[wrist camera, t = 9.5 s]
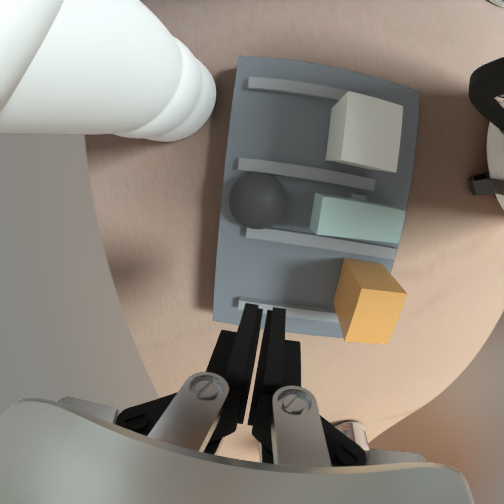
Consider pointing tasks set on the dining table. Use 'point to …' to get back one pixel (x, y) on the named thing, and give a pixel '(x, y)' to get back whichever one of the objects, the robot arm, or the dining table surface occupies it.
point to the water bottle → (98, 72)
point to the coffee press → (490, 126)
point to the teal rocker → (356, 219)
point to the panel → (297, 191)
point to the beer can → (354, 433)
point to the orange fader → (367, 302)
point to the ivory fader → (365, 132)
